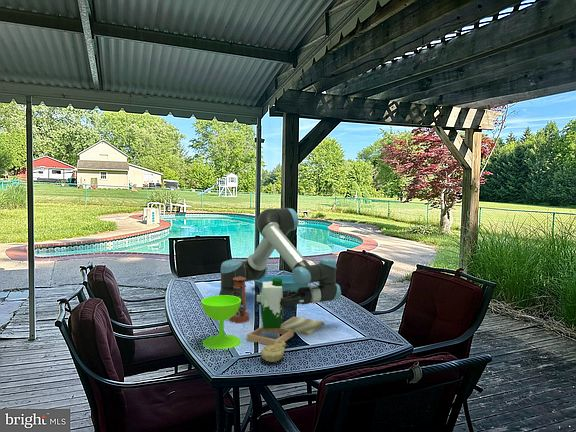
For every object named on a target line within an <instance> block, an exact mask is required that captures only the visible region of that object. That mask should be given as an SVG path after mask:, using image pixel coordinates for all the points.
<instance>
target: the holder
mask: <svg viewBox="0 0 576 432" xmlns="http://www.w3.org/2000/svg"><path fill="white" fill-rule="evenodd" d="M266 332H270V333H273V334H278V335H281V336H279V337H277V338H271V337H267V336H266V337H265V336H262V334H264V333H266ZM294 335H295V332H294V330H291V329H286V328H270V329H263V325H262V326H260V327H258V328H256V329H255V330H252V331H251V332H249V333H247V334H246V339H247V341H248V340H250V341H249V342H252V341H254V342H253V343H257V342H258V344H261V343H262V345H265V344H266V345H265V346H267V345H274V344H273V343H274V342H277V341H284V342H285V343H286V342H287V341H288V340H289V339H291V338H293V337H294Z"/></svg>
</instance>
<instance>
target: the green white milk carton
mask: <svg viewBox="0 0 576 432" xmlns="http://www.w3.org/2000/svg"><path fill="white" fill-rule="evenodd" d="M260 292H261V294H260V295H261V302H260V316H261V322H262V326H263V329H270V328H281V324H282V321H283V307H284V306H283V305H282V306H281V305H280V301H281V298H282V299H283V292H282V279H280V278H274V279H273V282H271V281H269V282H263V284H262V291H260ZM264 300H268V307H264Z"/></svg>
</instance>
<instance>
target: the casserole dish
mask: <svg viewBox="0 0 576 432" xmlns="http://www.w3.org/2000/svg"><path fill="white" fill-rule="evenodd" d="M274 278H280V279H282V291H287V290H291V292H292V291H296V292H297V291H298V289H299V288H300V287H308V286H309V283H308V284H300V285H299V284H296V283H295V282H294V281H293V278H292V274H284V275H283V274H280V275H279V274H278V275H273V274H272V275H271V274H270V275H269V274H268V275H265V277H264V278H262V279H259V280H253V281H252V282H254V283H255V282H256V284H257V287H258V289H259V290H260V292H262V284H263V282H269V281H271V282H273V279H274Z"/></svg>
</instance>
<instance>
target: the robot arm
mask: <svg viewBox="0 0 576 432" xmlns="http://www.w3.org/2000/svg"><path fill="white" fill-rule="evenodd" d="M256 226H257V229H258V232H259V233H260V235H261V236H262V239H261V241H260V242H259V244H258V246H257V247H256V248H255V250H254V251H253V253H251V254H250V255H249V256H248V257H247V259H246V260H242V259H241V258H235V259H228V260H225V261H222V263H221V265H220V291H219V294H218V295H230V296H234V292H233V291H234V288H233V286H234V281H235V280H233V278H235V275H236V277H240V276H242V277H245V278H246V279H245V283H246V282H251V281H252V282H254V281H253V280H259V279H262V278H264V277H265V276H267V273H268V264H267V262H268V260H269V259H270V256H272V254H273V252H274V250H276V252H277V253H278V254H279V256H281V258H282V260H284V262H285V263H286V264H287V265H288V267H289V268H290V270H291V272H292V273H291V275H292V278H293V281H294V282H295V283H296V284H299V285H300V284H308V286H307V287H300V288H299V289H298V291H297V292H296V291H292V292H291V290H287V291H282V292H283V299H282V298H281V301H280V305H281V306H282V305H283V306H282V307H289V306H294V305H309V304H313V305H315V303H323V302H332V301H336V300H339V299H340V298H341V297H342V295H341V294H342V290H341V286H340V285H339V284H338V283H336V282H337V281H336V280H337V278H336V277H337V261H336V259H334V258H332V257H321V258H320V259H319V262H318V263H317V264H310V263H309V262H308V261H307V260H306V259H305V258H304V256H303V255H302V254H301V253H300V252H299V251H298V249H297V248H296V247H295V246H294V244H293V243H292V242H291V240H289V238H288V237H287V236H288V234H289V233H290V232H292V231H296V229H298V227H299V216H298V213H297V212H296V211H295V209H294V208H289V207H282V208H266V209H263V210H262V211H261V212H260V213H259V215H258V216H257V220H256ZM238 260H239V261H238ZM235 262H236V263H235ZM243 263H244V264H243ZM245 269H246V274H245ZM317 282H318V284H317V285H309V284H312V283H317ZM237 291H239V292H237V296H236V297H239V296H240V297H239V298H240V299H242V300H241V305H243V296H241V295H242V294H241V293H242V288H237ZM232 292H233V293H232ZM240 292H241V293H240ZM232 294H233V295H232ZM256 302H257V303H259V302H260V303H261V294H257V295H256ZM264 307H268V300H264Z"/></svg>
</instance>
